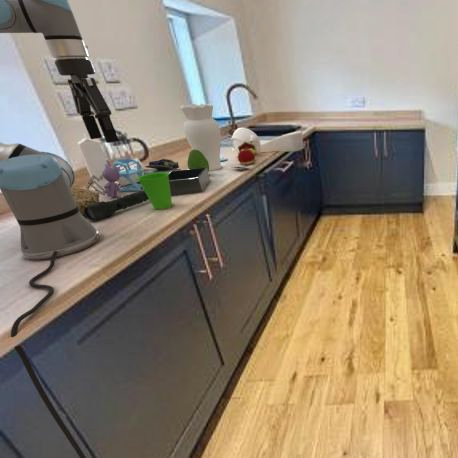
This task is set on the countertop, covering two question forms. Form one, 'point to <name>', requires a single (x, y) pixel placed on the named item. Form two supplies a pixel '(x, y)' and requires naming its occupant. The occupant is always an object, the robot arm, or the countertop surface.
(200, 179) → the dark grey open box
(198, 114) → the vase
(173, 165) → the race car
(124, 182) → the ink box
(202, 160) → the fruit
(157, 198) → the cup
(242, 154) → the figurine
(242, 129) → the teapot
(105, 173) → the figurine
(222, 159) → the toy
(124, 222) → the countertop surface
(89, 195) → the sponge
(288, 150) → the shoe sole
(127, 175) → the chair
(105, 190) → the maze
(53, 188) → the robot arm
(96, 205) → the flashlight
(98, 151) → the milk
